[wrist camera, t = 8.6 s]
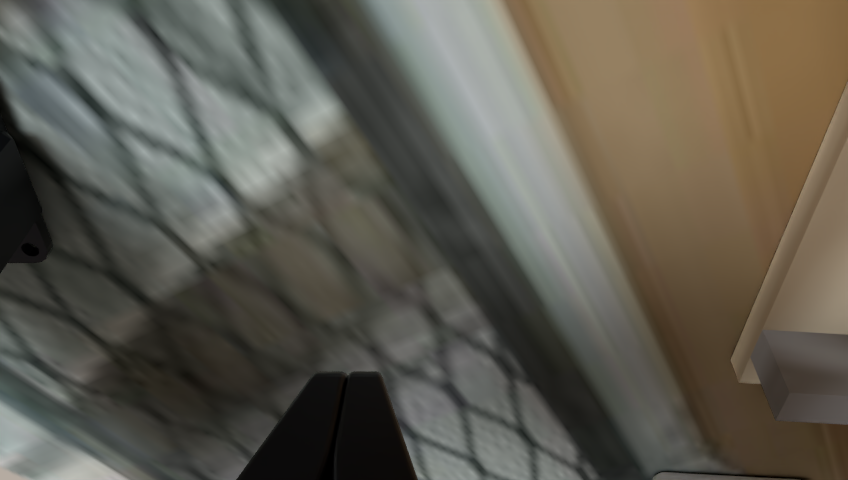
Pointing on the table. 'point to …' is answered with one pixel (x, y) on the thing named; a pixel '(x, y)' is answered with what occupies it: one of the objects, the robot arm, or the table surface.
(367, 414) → the robot arm
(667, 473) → the coffee box
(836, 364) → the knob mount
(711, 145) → the table surface
